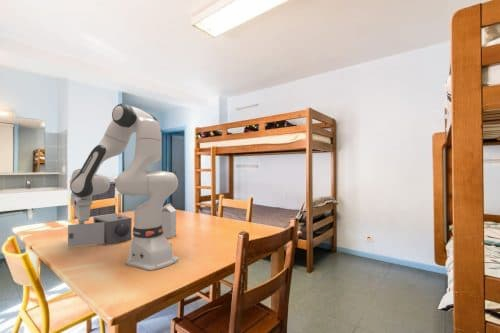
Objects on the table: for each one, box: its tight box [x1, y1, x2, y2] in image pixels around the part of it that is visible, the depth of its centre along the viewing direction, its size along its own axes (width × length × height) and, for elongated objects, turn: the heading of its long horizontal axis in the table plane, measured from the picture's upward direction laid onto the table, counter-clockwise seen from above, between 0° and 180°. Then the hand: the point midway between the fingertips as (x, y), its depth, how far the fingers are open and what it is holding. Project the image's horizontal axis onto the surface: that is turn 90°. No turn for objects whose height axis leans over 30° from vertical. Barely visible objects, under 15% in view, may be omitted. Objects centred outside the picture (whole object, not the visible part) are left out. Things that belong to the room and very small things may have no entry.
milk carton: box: [161, 203, 177, 239], centre depth 137 cm, size 7×7×19 cm
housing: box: [93, 213, 133, 246], centre depth 132 cm, size 22×12×13 cm, turn 52°
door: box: [67, 222, 106, 248], centre depth 119 cm, size 16×2×11 cm, turn 113°
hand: (81, 227), depth 120 cm, fingers closed
